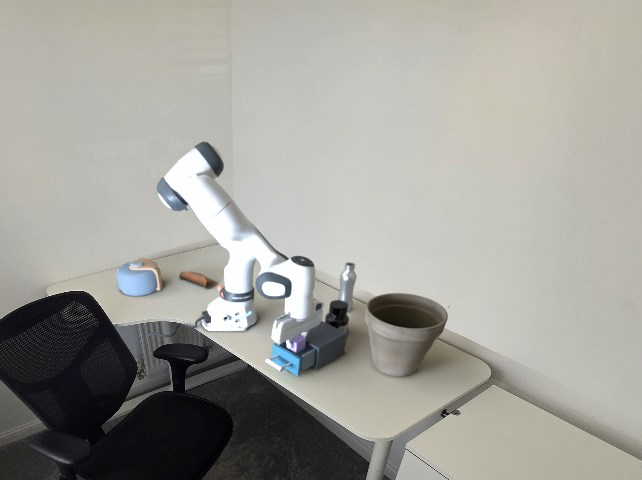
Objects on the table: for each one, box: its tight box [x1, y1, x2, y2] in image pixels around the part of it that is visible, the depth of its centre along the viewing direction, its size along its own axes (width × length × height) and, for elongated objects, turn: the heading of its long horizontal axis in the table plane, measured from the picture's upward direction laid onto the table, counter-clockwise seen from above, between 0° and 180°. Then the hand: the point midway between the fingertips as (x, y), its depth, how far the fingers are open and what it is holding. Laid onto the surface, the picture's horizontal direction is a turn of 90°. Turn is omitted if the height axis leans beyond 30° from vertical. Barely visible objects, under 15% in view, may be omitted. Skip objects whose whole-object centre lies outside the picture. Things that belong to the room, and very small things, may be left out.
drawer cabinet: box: [300, 320, 348, 370], centre depth 155 cm, size 15×14×9 cm
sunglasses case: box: [178, 270, 218, 289], centre depth 207 cm, size 18×7×7 cm, turn 52°
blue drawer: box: [265, 341, 317, 377], centre depth 149 cm, size 19×12×7 cm, turn 130°
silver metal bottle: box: [337, 261, 357, 312], centre depth 179 cm, size 6×7×20 cm
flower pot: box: [364, 292, 449, 378], centre depth 145 cm, size 25×25×22 cm
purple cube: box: [287, 335, 306, 353], centre depth 147 cm, size 4×4×4 cm
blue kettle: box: [115, 257, 164, 297], centre depth 200 cm, size 19×20×12 cm
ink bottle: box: [324, 299, 350, 334], centre depth 166 cm, size 10×9×12 cm
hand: (296, 344), depth 147 cm, fingers closed on purple cube, 4 cm apart
